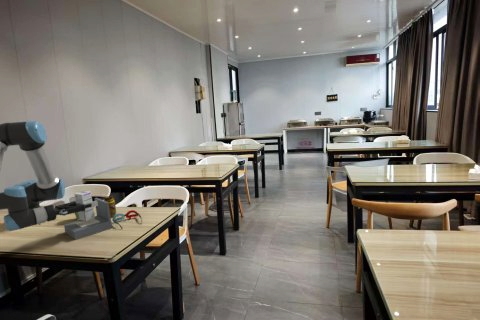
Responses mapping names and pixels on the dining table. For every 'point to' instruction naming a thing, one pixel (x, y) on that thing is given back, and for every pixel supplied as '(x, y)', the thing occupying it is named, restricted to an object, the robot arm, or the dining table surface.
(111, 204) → the condiment
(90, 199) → the syrup box
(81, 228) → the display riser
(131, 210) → the novelty glasses
